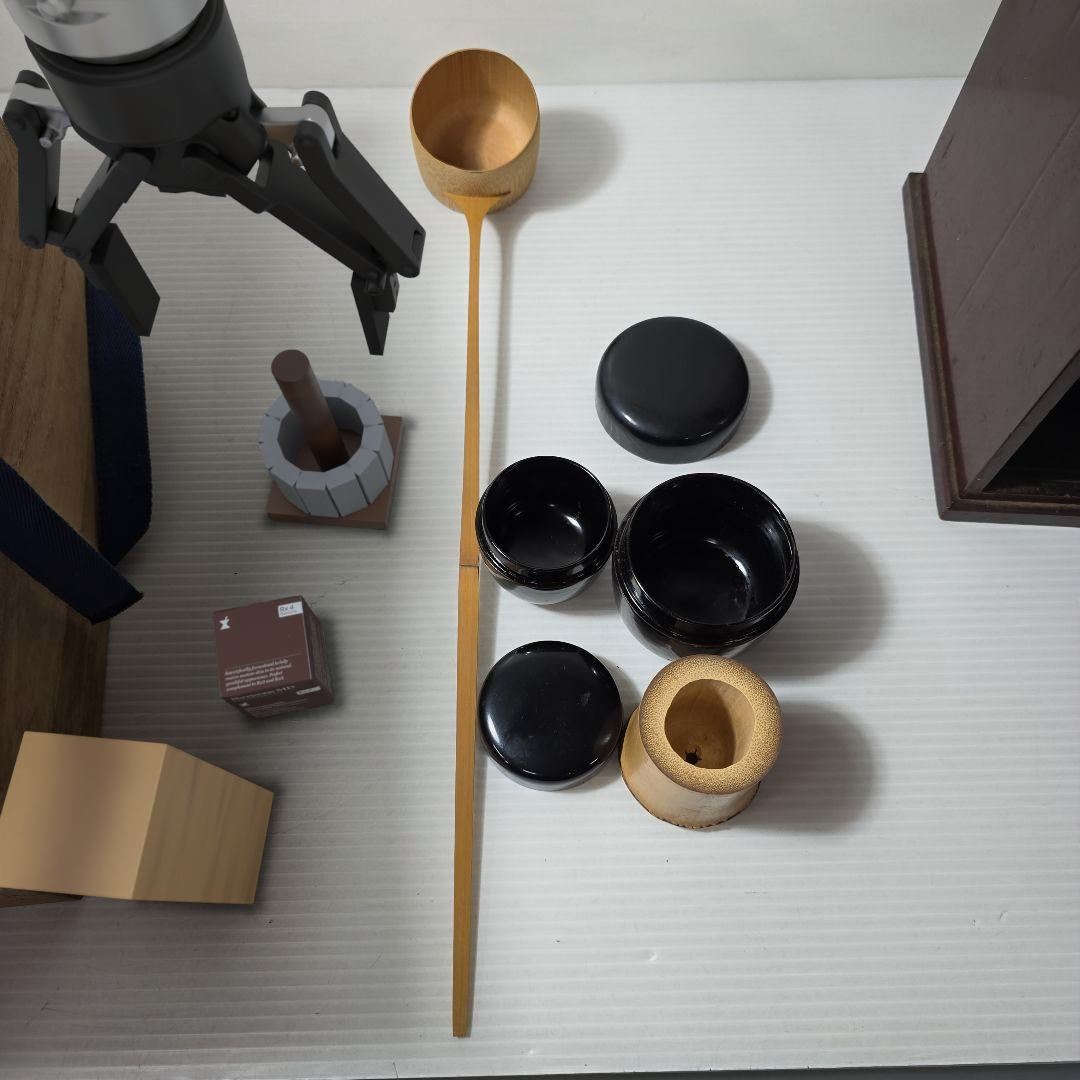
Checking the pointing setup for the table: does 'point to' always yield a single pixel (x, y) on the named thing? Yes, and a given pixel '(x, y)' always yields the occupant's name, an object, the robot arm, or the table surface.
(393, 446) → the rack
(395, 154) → the table surface
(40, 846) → the stand
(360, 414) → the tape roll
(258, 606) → the box
